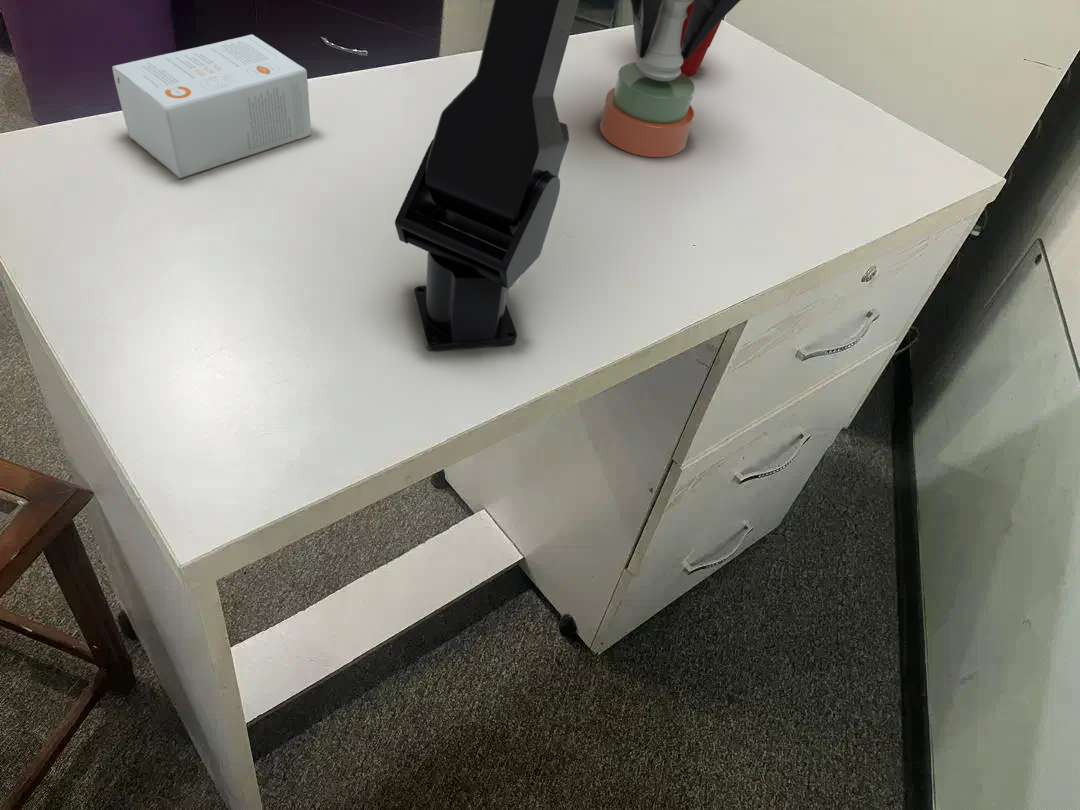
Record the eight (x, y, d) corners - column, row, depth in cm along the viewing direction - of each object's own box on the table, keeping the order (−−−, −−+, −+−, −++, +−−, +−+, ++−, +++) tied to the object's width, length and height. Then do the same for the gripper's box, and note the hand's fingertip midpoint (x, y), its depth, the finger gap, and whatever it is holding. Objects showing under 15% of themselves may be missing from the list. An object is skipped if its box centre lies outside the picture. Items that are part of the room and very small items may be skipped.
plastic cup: (715, 54, 97) (747, -52, 88) (720, 93, 89) (756, -18, 81) (629, 38, 96) (653, -70, 88) (628, 76, 89) (653, -38, 80)
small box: (260, 100, 74) (127, 137, 67) (253, 32, 70) (108, 63, 62) (313, 137, 71) (179, 180, 64) (308, 69, 66) (164, 107, 59)
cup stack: (699, 157, 79) (716, 102, 74) (616, 158, 76) (629, 101, 72) (666, 112, 84) (681, 59, 80) (588, 112, 82) (599, 57, 77)
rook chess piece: (678, 86, 74) (703, -2, 68) (632, 76, 74) (653, -14, 68) (681, 68, 77) (705, -19, 71) (637, 58, 77) (658, -30, 71)
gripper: (767, -153, 71) (715, 24, 82) (574, -176, 65) (546, 17, 77) (828, -115, 64) (762, 73, 75) (617, -137, 58) (579, 69, 70)
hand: (662, 56), depth 74 cm, fingers closed on rook chess piece, 4 cm apart
